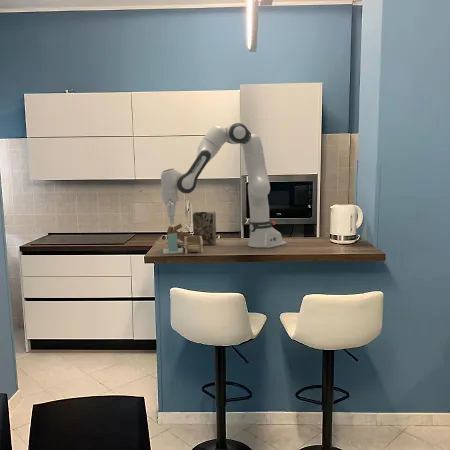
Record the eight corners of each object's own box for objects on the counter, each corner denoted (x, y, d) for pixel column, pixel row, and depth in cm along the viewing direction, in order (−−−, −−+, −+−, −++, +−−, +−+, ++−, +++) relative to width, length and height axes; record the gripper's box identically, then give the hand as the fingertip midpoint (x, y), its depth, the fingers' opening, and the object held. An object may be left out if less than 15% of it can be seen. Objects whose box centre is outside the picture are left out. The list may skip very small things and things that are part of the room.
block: (168, 249, 271) (168, 233, 270) (177, 249, 272) (176, 233, 271) (168, 251, 266) (167, 235, 265) (177, 250, 267) (176, 234, 266)
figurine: (185, 249, 293) (164, 239, 296) (186, 248, 296) (165, 239, 299) (192, 230, 290) (170, 220, 293) (193, 229, 292) (172, 219, 295)
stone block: (217, 243, 289) (215, 210, 286) (214, 245, 282) (213, 212, 279) (196, 243, 292) (194, 210, 289) (193, 245, 285) (191, 212, 282)
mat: (163, 250, 274) (163, 248, 274) (183, 249, 275) (183, 247, 275) (163, 254, 263) (162, 252, 263) (183, 252, 264) (183, 251, 264)
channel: (185, 248, 277) (184, 236, 276) (202, 247, 278) (201, 235, 277) (185, 254, 260) (184, 241, 259) (203, 253, 261) (202, 240, 260)
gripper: (175, 199, 255) (177, 225, 257) (176, 196, 275) (178, 220, 277) (163, 200, 254) (166, 226, 256) (165, 197, 275) (167, 221, 277)
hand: (172, 223), depth 267 cm, fingers open, 8 cm apart
